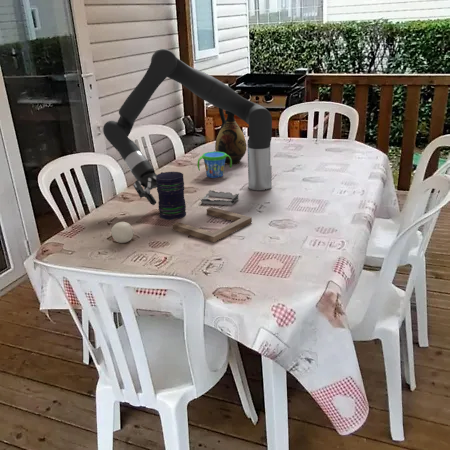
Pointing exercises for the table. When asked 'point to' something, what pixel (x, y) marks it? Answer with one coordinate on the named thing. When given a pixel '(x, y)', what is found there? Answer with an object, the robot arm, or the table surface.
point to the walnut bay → (214, 236)
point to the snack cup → (214, 163)
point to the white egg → (122, 232)
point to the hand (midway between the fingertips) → (163, 200)
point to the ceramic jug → (230, 139)
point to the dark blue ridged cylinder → (171, 195)
